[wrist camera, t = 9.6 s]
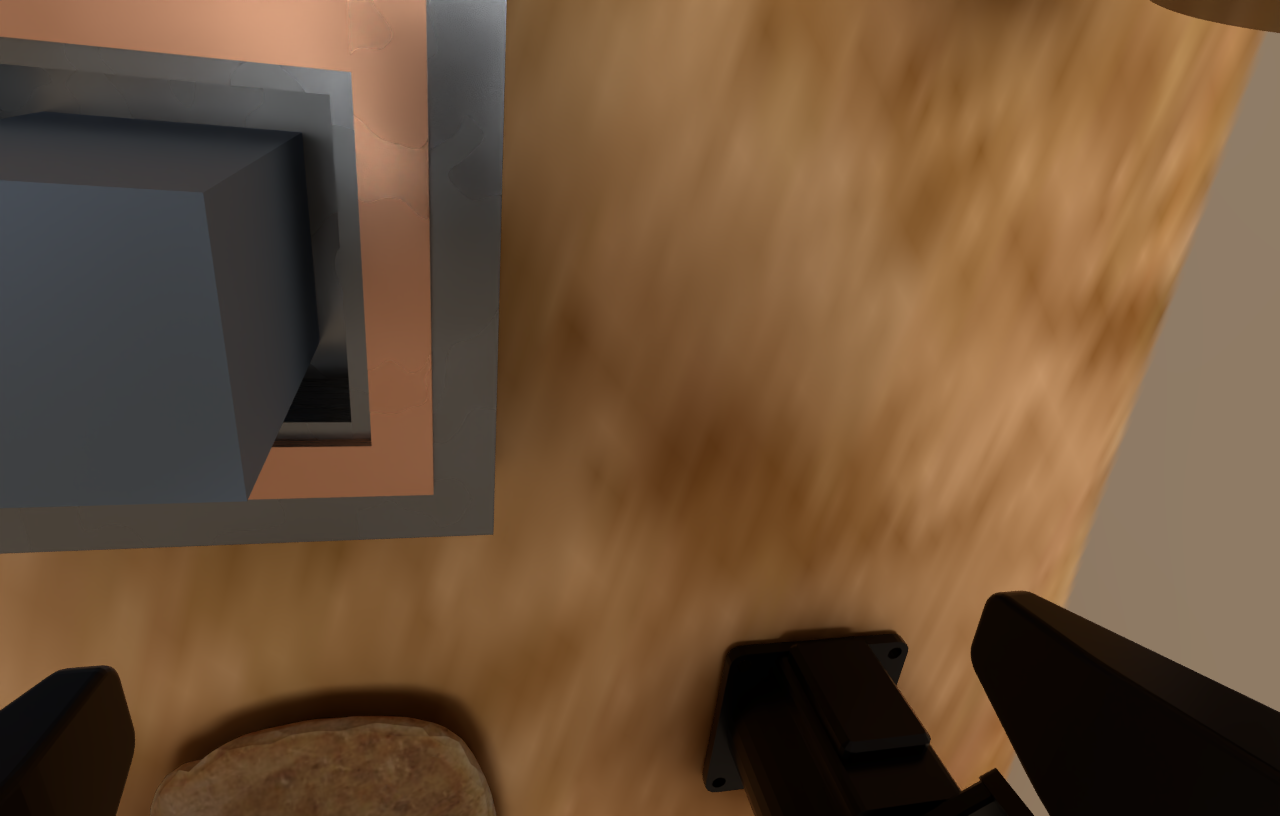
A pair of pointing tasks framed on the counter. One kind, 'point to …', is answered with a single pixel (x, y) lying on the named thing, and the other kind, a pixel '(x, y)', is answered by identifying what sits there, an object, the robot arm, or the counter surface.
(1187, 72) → the counter surface
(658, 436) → the counter surface
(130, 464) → the slate gray peg
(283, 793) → the stone cup
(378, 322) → the socket plate
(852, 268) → the counter surface
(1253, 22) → the pneumatic valve
